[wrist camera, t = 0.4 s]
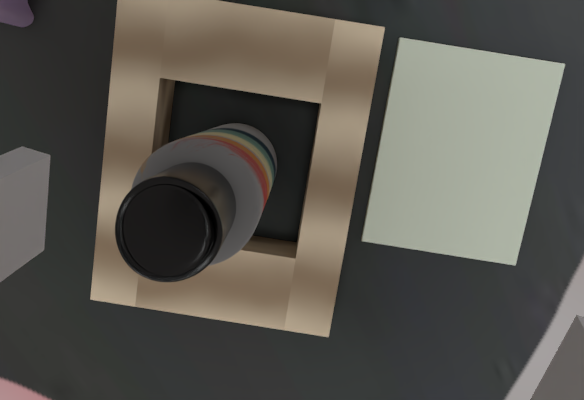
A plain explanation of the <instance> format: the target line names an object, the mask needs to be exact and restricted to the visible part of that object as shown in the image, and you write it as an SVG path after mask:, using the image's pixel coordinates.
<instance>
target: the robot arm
mask: <svg viewBox="0 0 584 400" xmlns="http://www.w3.org/2000/svg"><path fill="white" fill-rule="evenodd" d="M49 170H50V155H49V154H45V153H42V152H39V151H35V150H32V149H29V148H26V147H20V148H17V149H15V150H12V151H10V152H8V153H5V154H3V155H0V282H1V281H2V280H4V279H5V278H7V277H8V276H9V275H11V274H12V273H13V272H15V271H16V270H17V269H19V268H20V267H22V266H23V265H24V264H26V263H27V262H28V261H30V260H31V259H32V258H34V257H35V256H37V255H38V254H39V253H41V252H42V251H43V250H44V244H45V229H46V214H47V200H48V185H49ZM530 400H584V317H581V316H578V315H577V316H576V317H575V319H574V321H573V323H572V325H571V327H570V328H569V330H568V332H567V334H566V336H565V337H564V339H563V341H562V343H561V345H560V346H559V348H558V351H557V352H556V354H555V356H554V358H553V359H552V361H551V363H550V365H549V367H548V368H547V370H546V372H545V374H544V376H543V378H542V379H541V381H540V383H539V385H538V387H537V389H536V390H535V392H534V394H533V396H532V398H531V399H530Z"/></svg>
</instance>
